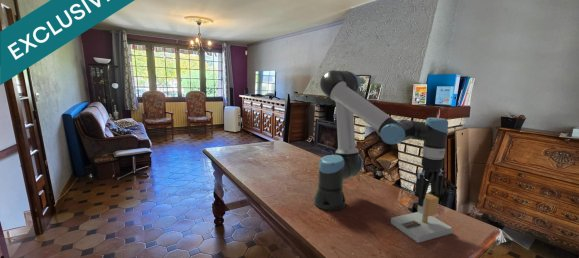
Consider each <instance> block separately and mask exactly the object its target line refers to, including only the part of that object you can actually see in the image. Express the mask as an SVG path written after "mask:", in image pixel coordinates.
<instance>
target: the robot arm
mask: <svg viewBox="0 0 579 258" xmlns="http://www.w3.org/2000/svg"><path fill="white" fill-rule="evenodd" d="M360 85H361V83H360V79H359V77H358V76H357V74H355V73H354V72H352V71H348V70H335V69H333V70H328V71H326V72H325V73H323V75H322V76H321V78H320V82H319V86H320V90H321V92H323V94H324V95H325V96H326V97H328V98H329V99H331V100H332V101H334V102H335V113H336V133H337V149H336V150H335V154H331V155H330V154H327V155H324V156H322V157H321V158H320V159H319V165H318V183H317V184H318V187H317V190H316V192H315V196H314V199H313V200H314V202H313V204H314V205H315V206H316V207H318V208H319V209H321V210H324V211H330V212H336V211H340V210H342V209H344V208H345V206H346V197H345V194H344V191H343V188H344V187H343V186H344V184H343V183H344V181H345V180H347V179H349V178H352V177H355V176H357V175H358V174H360V173H361V172H362V170H363V168H364V159H363V158H362V157H361V155H360V154H359V150H358V148H356V139H355V138H356V137H355V136H356V135H355V133H356V132H355V117H354V115H355V116H357V117H358V118H359V119H360V120H362V121H363V122H364V123H366V124H367V125H368V126H370V127H371V128H372V129H374V130H375V131H376V132H378V134H380V138H381V140H382V142H384V143H386V145H387V144H388V145H396V144H400V143H402V142H405V141H408V140H418V141H423V146H422V153H421V154H422V156H421V163H420V165H421V166H422V170H421V172H416V173H415V177H416V180H415V188H414V197H416V198H418V200H417V203H418V212H419V213H421V214H423V215H424V214H425V206H426V199H425V196H426V194H427V193H428V190H429V186H430V192H431V195H433V196H435V197H437V198H440V197H441V195H443V188H444V178H445V176H446V171H445V170H442V169H443V168H444V162H445V160H444V158H445V154H446V153H445V152H446V144H447V138H448V134H449V121H448V119H446V118H441V117H427V118H426V119H425V121H417V120H409V119H394V118H393V117H391V116H390V115H388V114H387V113H386V112H385V111H383V110H381V109H380V108H379V107H377V106H376V105H374V104H373V103H372V102H370V101H368V100H367V99H366V98H364V97H363V96H361V94H359V93H357V92H358V90H360Z"/></svg>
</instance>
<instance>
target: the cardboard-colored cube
mask: <svg viewBox="0 0 579 258" xmlns="http://www.w3.org/2000/svg"><path fill="white" fill-rule="evenodd" d="M425 199H426V206H425V214H424V215H426V216H427V217H428V216H433V217H434V216H436V215H437V214H438V209H439V208H438V206H439V200H440V197H435V196H433V195H432V194H430V193H428V192H427V193H426V196H425ZM417 211H418V208H417Z"/></svg>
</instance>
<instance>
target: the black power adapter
mask: <svg viewBox="0 0 579 258" xmlns="http://www.w3.org/2000/svg"><path fill="white" fill-rule="evenodd" d="M411 207H412V208H410V207H407V208H408V209H407V210H409V211H410V213H415V212H418V211H417V208H418V202H412V206H411Z"/></svg>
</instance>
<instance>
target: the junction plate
mask: <svg viewBox="0 0 579 258" xmlns="http://www.w3.org/2000/svg"><path fill="white" fill-rule="evenodd" d="M390 224H391V225H392V226H394V228H395V227H396V229H398V230H400V231H401V232H402V233H404V234H405V235H406V236H408V237H409V238H410V239H412V240H414V241H415V242H416V243H417V244H418V243H423V242H425V241H430V240H433V239H436V238H439V237H444V236H447V235H451V234H452V233H453V227H452V226H450V225H448V224H447V223H445V222H443V221H442V220H439V218H436V217H435V216H434V215H433V216H428V217H427V216H426V215H423V214H421V213H419V212H415V213H412V212H410V213H407V214H402V215H398V216H393V217H391V218H390Z"/></svg>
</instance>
